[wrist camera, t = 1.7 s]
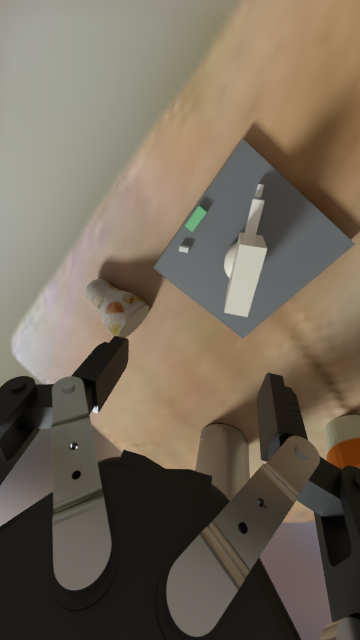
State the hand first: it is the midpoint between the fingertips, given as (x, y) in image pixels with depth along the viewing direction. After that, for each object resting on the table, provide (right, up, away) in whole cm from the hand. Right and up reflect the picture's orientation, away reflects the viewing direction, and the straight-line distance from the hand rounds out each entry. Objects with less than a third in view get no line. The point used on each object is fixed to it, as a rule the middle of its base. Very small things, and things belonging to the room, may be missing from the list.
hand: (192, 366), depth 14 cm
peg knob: (+7, +12, +16) cm, 21 cm away
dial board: (+8, +11, +18) cm, 23 cm away
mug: (-10, +6, +26) cm, 29 cm away
